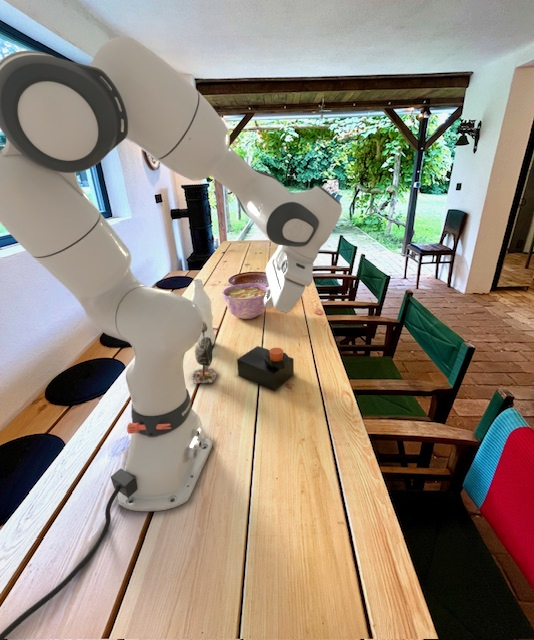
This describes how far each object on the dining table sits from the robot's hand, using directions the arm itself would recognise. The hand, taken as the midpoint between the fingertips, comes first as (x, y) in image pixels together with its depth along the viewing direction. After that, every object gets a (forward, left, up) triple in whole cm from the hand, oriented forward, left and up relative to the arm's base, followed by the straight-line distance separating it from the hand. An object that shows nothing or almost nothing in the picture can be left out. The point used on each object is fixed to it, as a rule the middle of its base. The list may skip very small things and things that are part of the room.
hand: (266, 304), depth 81 cm
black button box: (+8, +1, -27) cm, 28 cm away
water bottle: (+29, +23, -27) cm, 46 cm away
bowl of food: (+55, +9, -27) cm, 62 cm away
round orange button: (+5, -2, -19) cm, 20 cm away
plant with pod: (+9, +20, -27) cm, 35 cm away
